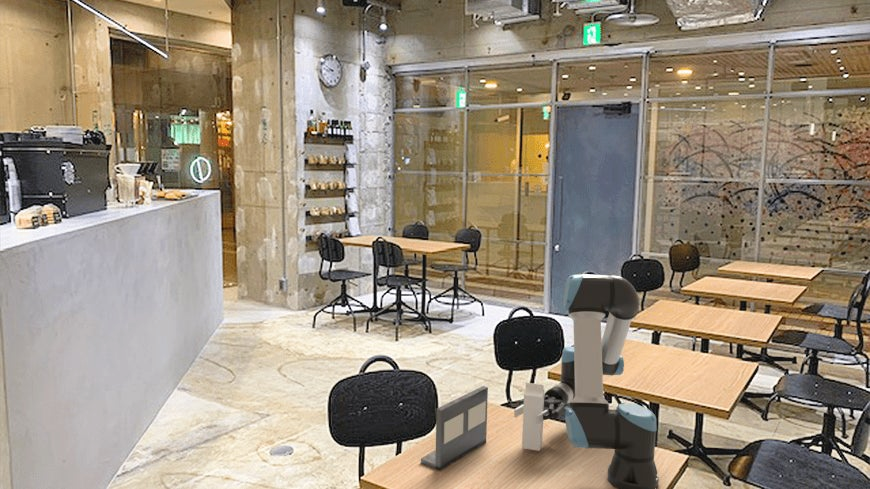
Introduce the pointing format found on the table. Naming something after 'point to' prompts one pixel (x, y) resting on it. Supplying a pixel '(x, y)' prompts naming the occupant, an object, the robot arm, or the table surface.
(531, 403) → the milk
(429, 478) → the table surface
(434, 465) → the label panel
